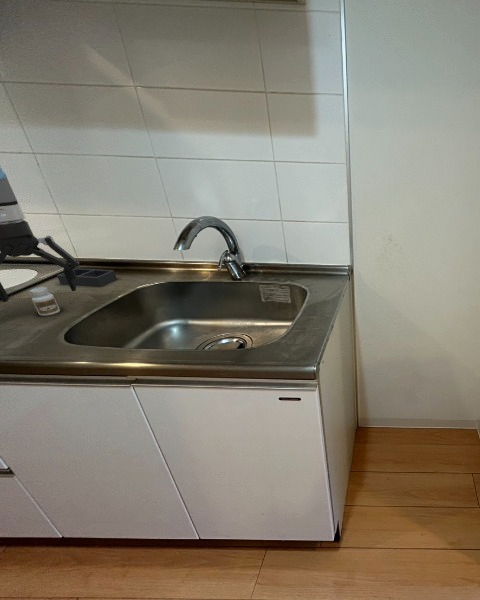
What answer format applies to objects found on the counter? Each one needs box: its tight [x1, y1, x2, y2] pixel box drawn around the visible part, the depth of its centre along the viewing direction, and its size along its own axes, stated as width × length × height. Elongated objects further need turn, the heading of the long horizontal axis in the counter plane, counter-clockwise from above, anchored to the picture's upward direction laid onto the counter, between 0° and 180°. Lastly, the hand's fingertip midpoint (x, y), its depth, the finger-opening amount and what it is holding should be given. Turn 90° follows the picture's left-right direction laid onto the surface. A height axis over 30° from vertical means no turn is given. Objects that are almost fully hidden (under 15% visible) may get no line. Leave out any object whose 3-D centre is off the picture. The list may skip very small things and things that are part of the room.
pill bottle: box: [29, 286, 61, 317], centre depth 91 cm, size 4×4×8 cm
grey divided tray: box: [56, 267, 118, 288], centre depth 112 cm, size 7×14×4 cm, turn 90°
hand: (41, 294), depth 90 cm, fingers open, 13 cm apart
